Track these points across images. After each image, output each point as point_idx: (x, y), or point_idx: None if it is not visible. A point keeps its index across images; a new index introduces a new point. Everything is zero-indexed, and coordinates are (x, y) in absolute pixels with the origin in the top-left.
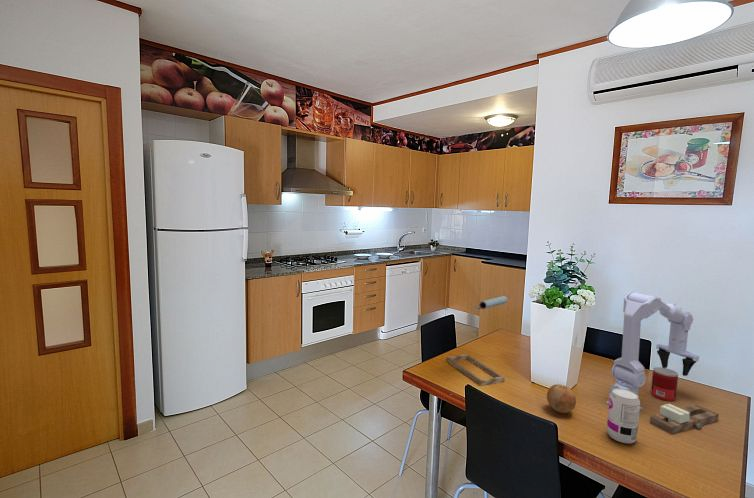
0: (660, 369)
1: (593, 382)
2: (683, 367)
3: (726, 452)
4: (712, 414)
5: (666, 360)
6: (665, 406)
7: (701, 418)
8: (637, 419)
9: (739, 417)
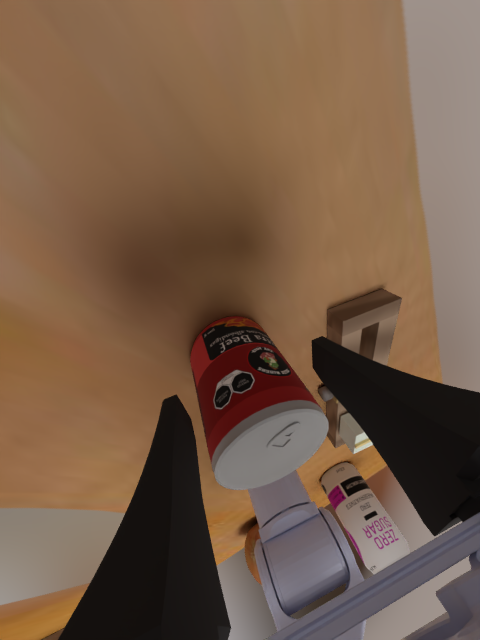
0: (236, 458)
1: (120, 490)
2: (363, 426)
3: (424, 368)
4: (392, 320)
5: (184, 471)
6: (359, 447)
7: (385, 363)
8: (381, 505)
9: (411, 174)
